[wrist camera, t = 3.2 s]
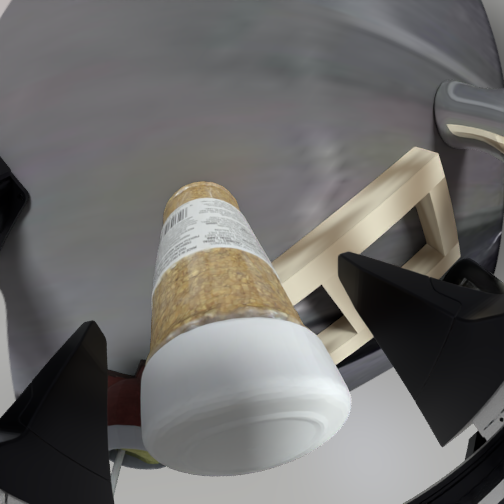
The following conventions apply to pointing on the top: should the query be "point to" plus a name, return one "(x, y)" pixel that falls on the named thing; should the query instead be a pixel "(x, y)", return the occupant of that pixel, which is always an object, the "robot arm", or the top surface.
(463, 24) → the top surface
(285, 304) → the sprinkles bottle
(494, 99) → the beer glass
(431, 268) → the beige wooden flat tray
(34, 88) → the top surface
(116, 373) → the mate gourd
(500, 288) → the supplement bottle
